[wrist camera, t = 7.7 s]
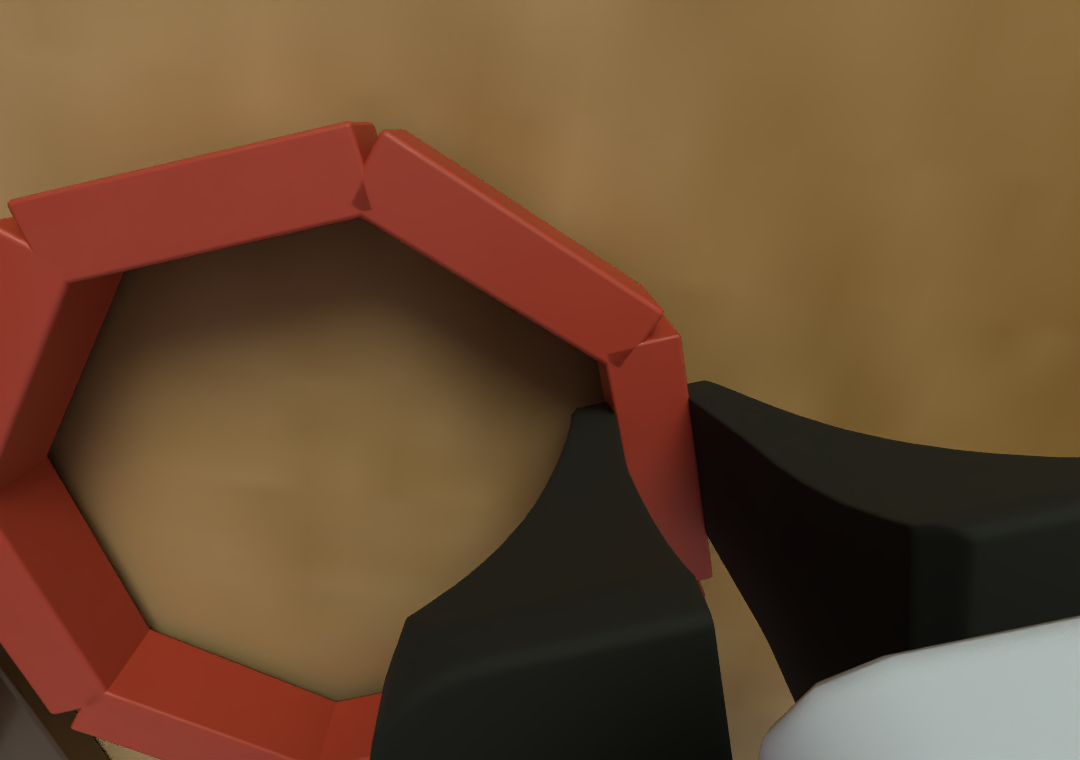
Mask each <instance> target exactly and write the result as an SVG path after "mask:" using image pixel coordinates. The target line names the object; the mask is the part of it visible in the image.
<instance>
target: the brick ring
mask: <svg viewBox="0 0 1080 760" xmlns="http://www.w3.org/2000/svg"><path fill="white" fill-rule="evenodd" d="M7 204H8V208H9V210H10V212H11V214H12V215H13V217H9V218H4V219H0V644H1V645H2V646H3V648H4V649H5V651H6V652H7V653H8V655H9V656H10V658H11V659H12V660H13V662H14V663H15V664H16V666H17V667H18V669H19V670H20V671H21V673H22V674H23V676H24V677H25V678H26V680H27V681H28V683H29V684H30V685H31V687H32V688H33V690H34V691H35V692H36V694H37V695H38V696H39V698H40V699H41V701H42V702H43V703H44V705H45V706H46V708H47V709H48V710H49V712H50V713H52V714H59V713H63V712H68V711H73V710H78V709H79V711H78V713H77V715H76V717H75V719H74V721H73V723H72V725H71V728H72V729H73V730H76V731H79V732H82V733H85V734H88V735H91V736H94V737H97V738H100V739H103V740H106V741H108V742H111V743H114V744H117V745H120V746H123V747H126V748H129V749H132V750H135V751H138V752H141V753H144V754H147V755H150V756H153V757H155V758H158V759H161V760H370V753H371V745H372V739H373V735H374V730H375V725H376V720H377V715H378V710H379V705H380V700H381V695H382V693H378V694H373V695H368V696H363V697H358V698H353V699H349V700H344V701H339V702H335V701H332V700H330V699H327V698H325V697H322V696H319V695H317V694H314V693H312V692H309V691H307V690H304V689H301V688H299V687H296V686H294V685H291V684H289V683H286V682H284V681H281V680H278V679H276V678H273V677H271V676H268V675H266V674H263V673H261V672H258V671H255V670H253V669H250V668H248V667H245V666H243V665H240V664H238V663H235V662H232V661H230V660H227V659H225V658H222V657H220V656H217V655H214V654H212V653H209V652H207V651H204V650H202V649H199V648H197V647H194V646H191V645H189V644H186V643H184V642H181V641H179V640H176V639H174V638H171V637H168V636H166V635H163V634H161V633H158V632H156V631H153V630H150V629H149V628H148V626H147V625H146V623H145V621H144V619H143V618H142V616H141V614H140V613H139V611H138V609H137V608H136V606H135V604H134V603H133V601H132V599H131V597H130V596H129V594H128V592H127V591H126V589H125V587H124V586H123V584H122V582H121V581H120V579H119V577H118V575H117V574H116V572H115V570H114V569H113V567H112V565H111V564H110V562H109V560H108V559H107V557H106V555H105V553H104V552H103V550H102V548H101V547H100V545H99V543H98V542H97V540H96V538H95V537H94V535H93V533H92V531H91V530H90V528H89V526H88V525H87V523H86V521H85V520H84V518H83V516H82V515H81V513H80V511H79V509H78V508H77V506H76V504H75V503H74V501H73V499H72V498H71V496H70V494H69V493H68V491H67V489H66V487H65V486H64V484H63V482H62V481H61V479H60V477H59V476H58V474H57V472H56V470H55V469H54V467H53V465H52V464H51V462H50V460H49V459H48V457H47V454H48V452H49V449H50V447H51V445H52V442H53V440H54V437H55V435H56V433H57V430H58V428H59V426H60V423H61V421H62V418H63V416H64V414H65V411H66V409H67V407H68V404H69V402H70V399H71V397H72V395H73V392H74V390H75V387H76V385H77V383H78V380H79V378H80V376H81V373H82V371H83V368H84V366H85V364H86V361H87V359H88V357H89V354H90V352H91V349H92V347H93V345H94V342H95V340H96V338H97V335H98V333H99V330H100V328H101V326H102V323H103V321H104V319H105V316H106V314H107V311H108V309H109V307H110V304H111V302H112V300H113V297H114V295H115V292H116V290H117V288H118V285H119V283H120V281H121V278H122V276H123V273H124V271H128V270H133V269H137V268H142V267H146V266H150V265H155V264H159V263H164V262H168V261H172V260H177V259H181V258H185V257H190V256H194V255H199V254H203V253H207V252H212V251H216V250H220V249H225V248H229V247H234V246H238V245H242V244H247V243H251V242H255V241H260V240H264V239H269V238H273V237H277V236H282V235H286V234H291V233H295V232H299V231H304V230H308V229H312V228H317V227H321V226H326V225H330V224H334V223H339V222H343V221H347V220H352V219H356V218H362V219H364V220H366V221H367V222H369V223H371V224H372V225H374V226H376V227H377V228H379V229H381V230H382V231H384V232H386V233H387V234H389V235H390V236H392V237H394V238H395V239H397V240H399V241H400V242H402V243H404V244H405V245H407V246H409V247H410V248H412V249H414V250H415V251H417V252H419V253H420V254H422V255H423V256H425V257H427V258H428V259H430V260H432V261H433V262H435V263H437V264H438V265H440V266H442V267H443V268H445V269H447V270H448V271H450V272H452V273H453V274H455V275H456V276H458V277H460V278H461V279H463V280H465V281H466V282H468V283H470V284H471V285H473V286H475V287H476V288H478V289H480V290H481V291H483V292H485V293H486V294H488V295H489V296H491V297H493V298H494V299H496V300H498V301H499V302H501V303H503V304H504V305H506V306H508V307H509V308H511V309H513V310H514V311H516V312H518V313H519V314H521V315H522V316H524V317H526V318H527V319H529V320H531V321H532V322H534V323H536V324H537V325H539V326H541V327H542V328H544V329H546V330H547V331H549V332H551V333H552V334H554V335H556V336H557V337H559V338H560V339H562V340H564V341H565V342H567V343H569V344H570V345H572V346H574V347H575V348H577V349H579V350H580V351H582V352H584V353H585V354H587V355H589V356H590V357H592V358H593V359H595V360H597V362H598V367H599V372H600V378H601V383H602V388H603V393H604V399H605V402H607V403H608V404H609V406H610V407H611V409H612V411H613V412H614V414H616V415H617V420H618V425H619V431H620V436H621V441H622V446H623V452H624V457H625V461H626V465H627V468H628V471H629V474H630V476H631V478H632V480H633V482H634V484H635V486H636V488H637V491H638V493H639V495H640V497H641V499H642V500H643V502H644V504H645V506H646V508H647V510H648V512H649V514H650V516H651V518H652V519H653V521H654V522H655V524H656V526H657V527H658V529H659V530H660V532H661V534H662V535H663V537H664V539H665V540H666V542H667V543H668V544H669V546H670V547H671V548H672V550H673V551H674V552H675V553H676V555H677V556H678V557H679V559H680V560H681V561H682V563H683V564H684V565H685V566H686V567H687V568H688V569H689V570H690V571H691V572H692V573H693V574H694V576H695V578H696V580H697V583H698V585H699V587H700V589H701V592H702V594H703V596H704V597H705V593H704V591H703V589H702V586H701V584H700V582H699V580H703V579H708V578H711V577H712V567H711V560H710V552H709V545H708V537H707V534H706V528H705V521H704V513H703V506H702V498H701V491H700V483H699V476H698V468H697V461H696V453H695V445H694V438H693V430H692V423H691V415H690V408H689V400H688V399H689V394H688V387H687V379H686V372H685V364H684V357H683V349H682V342H681V336H680V334H679V333H678V332H677V331H676V330H675V328H674V327H673V326H672V325H671V324H670V322H669V321H668V320H667V319H666V318H665V317H664V315H663V312H664V311H663V310H662V308H661V307H660V306H659V304H658V303H657V302H656V301H655V300H654V299H653V298H652V297H651V295H650V294H649V293H648V292H647V291H646V290H645V289H644V287H643V286H642V285H640V284H639V283H637V282H636V281H634V280H633V279H631V278H630V277H628V276H627V275H625V274H624V273H622V272H621V271H619V270H618V269H616V268H615V267H613V266H611V265H610V264H608V263H607V262H605V261H604V260H602V259H601V258H599V257H598V256H596V255H595V254H593V253H592V252H590V251H589V250H587V249H586V248H584V247H583V246H581V245H580V244H578V243H576V242H575V241H573V240H572V239H570V238H569V237H567V236H566V235H564V234H563V233H561V232H560V231H558V230H557V229H555V228H554V227H552V226H551V225H549V224H548V223H546V222H545V221H543V220H541V219H540V218H538V217H537V216H535V215H534V214H532V213H531V212H529V211H528V210H526V209H525V208H523V207H522V206H520V205H519V204H517V203H516V202H514V201H513V200H511V199H509V198H508V197H506V196H505V195H503V194H502V193H500V192H499V191H497V190H496V189H494V188H493V187H491V186H490V185H488V184H487V183H485V182H484V181H482V180H481V179H479V178H478V177H476V176H474V175H473V174H471V173H470V172H468V171H467V170H465V169H464V168H462V167H461V166H459V165H458V164H456V163H455V162H453V161H452V160H450V159H449V158H447V157H446V156H444V155H442V154H441V153H439V152H438V151H436V150H435V149H433V148H432V147H430V146H429V145H427V144H426V143H424V142H423V141H421V140H420V139H418V138H417V137H415V136H414V135H412V134H411V133H409V132H407V131H406V130H402V129H391V130H383V131H382V132H381V133H380V134H379V136H378V137H377V134H376V130H375V127H374V125H373V124H372V123H370V122H342V123H338V124H334V125H329V126H325V127H321V128H317V129H312V130H308V131H304V132H299V133H295V134H291V135H286V136H282V137H278V138H274V139H269V140H265V141H261V142H256V143H252V144H248V145H244V146H239V147H235V148H231V149H226V150H222V151H218V152H213V153H209V154H205V155H201V156H196V157H192V158H188V159H183V160H179V161H175V162H171V163H166V164H162V165H158V166H153V167H149V168H145V169H140V170H136V171H132V172H128V173H123V174H119V175H115V176H110V177H106V178H102V179H97V180H93V181H89V182H85V183H80V184H76V185H72V186H67V187H63V188H59V189H55V190H50V191H46V192H42V193H37V194H33V195H29V196H24V197H20V198H16V199H12V200H10V201H9V202H8V203H7Z"/></svg>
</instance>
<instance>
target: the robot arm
mask: <svg viewBox="0 0 1080 760" xmlns="http://www.w3.org/2000/svg"><path fill="white" fill-rule="evenodd" d="M687 387H688V394H689V399H688V400H689V408H690V415H691V423H692V430H693V438H694V445H695V453H696V461H697V468H698V476H699V483H700V491H701V498H702V506H703V513H704V521H705V528H706V534H707V536H708V537H709V539H710V541H711V543H712V544H713V546H714V548H715V550H716V551H717V553H718V555H719V557H720V558H721V560H722V562H723V564H724V565H725V567H726V569H727V570H728V572H729V574H730V576H731V577H732V579H733V581H734V582H735V584H736V586H737V588H738V589H739V591H740V593H741V594H742V596H743V598H744V600H745V601H746V603H747V605H748V607H749V608H750V610H751V612H752V613H753V615H754V617H755V619H756V620H757V622H758V624H759V626H760V628H761V630H762V632H763V633H764V635H765V637H766V639H767V641H768V643H769V645H770V647H771V649H772V651H773V654H774V656H775V658H776V660H777V663H778V665H779V667H780V669H781V672H782V674H783V676H784V678H785V681H786V683H787V685H788V687H789V690H790V692H791V694H792V696H793V699H794V701H795V704H794V705H793V706H792V707H791V708H790V709H789V710H788V711H787V712H786V713H785V714H784V715H783V716H782V717H781V718H780V719H779V720H778V721H777V722H776V723H775V724H774V725H772V726H771V728H770V729H769V731H768V732H767V733H766V735H765V736H764V738H763V742H762V746H761V750H760V753H759V757H758V760H1080V457H1041V456H1025V455H1009V454H994V453H983V452H973V451H963V450H954V449H947V448H940V447H933V446H926V445H919V444H912V443H906V442H901V441H895V440H890V439H885V438H880V437H876V436H871V435H867V434H863V433H858V432H854V431H849V430H845V429H842V428H838V427H834V426H831V425H827V424H824V423H821V422H818V421H815V420H811V419H808V418H805V417H802V416H799V415H796V414H793V413H790V412H787V411H784V410H782V409H779V408H776V407H774V406H771V405H768V404H766V403H763V402H761V401H758V400H756V399H753V398H750V397H748V396H746V395H743V394H741V393H738V392H736V391H733V390H731V389H728V388H726V387H723V386H721V385H718V384H715V383H712V382H709V381H705V380H704V381H699V382H695V383H690V384H687ZM370 760H732V753H731V746H730V738H729V731H728V724H727V716H726V709H725V702H724V694H723V687H722V680H721V672H720V665H719V658H718V650H717V643H716V636H715V628H714V623H713V620H712V616H711V613H710V610H709V608H708V606H707V603H706V601H705V599H704V596H703V594H702V592H701V589H700V587H699V585H698V583H697V580H696V578H695V576H694V574H693V573H692V572H691V571H690V570H689V569H688V568H687V567H686V566H685V565H684V564H683V563H682V561H681V560H680V559H679V557H678V556H677V555H676V553H675V552H674V551H673V550H672V548H671V547H670V546H669V544H668V543H667V542H666V540H665V539H664V537H663V535H662V534H661V532H660V530H659V529H658V527H657V526H656V524H655V522H654V521H653V519H652V518H651V516H650V514H649V512H648V510H647V508H646V506H645V504H644V502H643V500H642V499H641V497H640V495H639V493H638V491H637V488H636V486H635V484H634V482H633V480H632V478H631V476H630V474H629V471H628V468H627V465H626V461H625V457H624V452H623V446H622V441H621V436H620V431H619V425H618V420H617V415H616V414H614V412H613V411H612V409H611V407H610V406H609V404H608V403H607V402H603V403H599V404H594V405H589V406H585V407H580V408H576V409H575V411H574V412H573V413H572V415H571V425H570V429H569V433H568V436H567V439H566V442H565V445H564V448H563V450H562V453H561V455H560V458H559V460H558V463H557V465H556V467H555V469H554V471H553V473H552V475H551V477H550V479H549V481H548V483H547V485H546V487H545V489H544V490H543V492H542V494H541V495H540V497H539V499H538V500H537V502H536V503H535V505H534V506H533V508H532V509H531V511H530V512H529V513H528V515H527V516H526V518H525V519H524V520H523V522H522V523H521V524H520V525H519V526H518V527H517V528H516V530H515V531H514V532H513V533H512V534H511V535H510V536H509V537H508V538H507V540H506V541H505V542H504V543H503V544H502V545H501V546H500V547H499V548H498V549H497V550H496V551H495V552H494V553H493V554H492V555H491V556H490V557H489V558H487V559H486V560H485V561H484V562H483V563H482V564H481V565H480V566H478V567H477V568H476V569H475V570H474V571H472V572H471V573H470V574H469V575H468V576H466V577H465V578H464V579H463V580H461V581H460V582H459V583H457V584H456V585H455V586H453V587H452V588H451V589H449V590H448V591H446V592H445V593H443V594H442V595H440V596H439V597H437V598H436V599H435V600H433V601H432V602H430V603H429V604H427V605H426V606H424V607H423V608H422V609H420V610H419V611H417V612H415V613H414V614H412V615H411V616H409V617H408V618H407V619H406V621H405V624H404V627H403V630H402V632H401V635H400V638H399V641H398V644H397V647H396V649H395V652H394V654H393V657H392V660H391V663H390V666H389V669H388V672H387V675H386V679H385V682H384V687H383V691H382V695H381V700H380V705H379V710H378V715H377V720H376V725H375V730H374V735H373V739H372V745H371V753H370Z"/></svg>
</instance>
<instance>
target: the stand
mask: <svg viewBox="0 0 1080 760" xmlns="http://www.w3.org/2000/svg"><path fill="white" fill-rule="evenodd" d="M76 715H77V713H76V712H75V710H73V711H68V712H63V713H59V714H52V713H50V712H49V710H48V709H47V708H46V706H45V705H44V703H43V702H42V701H41V699H40V698H39V696H38V695H37V694H36V692H35V691H34V690H33V688H32V687H31V685H30V684H29V683H28V681H27V680H26V678H25V677H24V676H23V674H22V673H21V671H20V670H19V669H18V667H17V666H16V664H15V663H14V662H13V660H12V659H11V658H10V656H9V655H8V653H7V652H6V651H5V649H4V648H3V646H2V645H1V644H0V760H109V759H108V758H107V757H106V755H105V754H104V752H103V751H102V749H101V748H100V746H99V745H98V744H97V742H96V741H95V739H94V738H93V736H91V735H88V734H85V733H82V732H79V731H76V730H73V729H72V728H71V725H72V723H73V721H74V719H75V717H76Z"/></svg>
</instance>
